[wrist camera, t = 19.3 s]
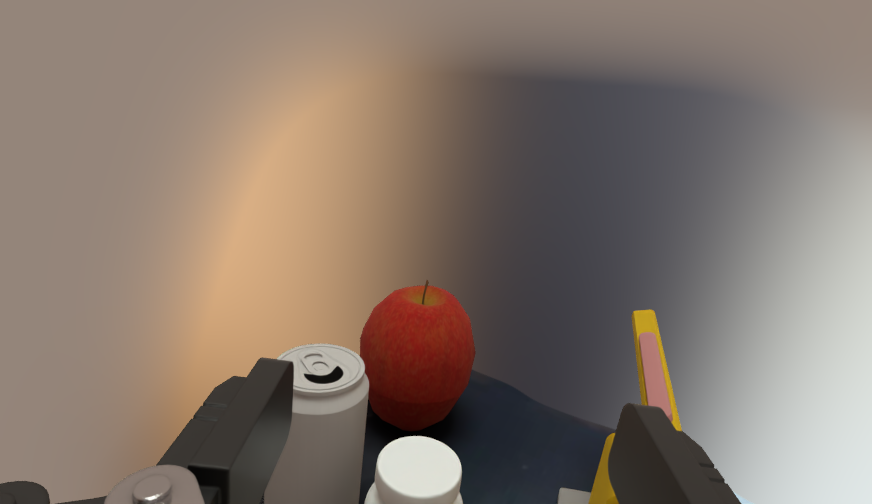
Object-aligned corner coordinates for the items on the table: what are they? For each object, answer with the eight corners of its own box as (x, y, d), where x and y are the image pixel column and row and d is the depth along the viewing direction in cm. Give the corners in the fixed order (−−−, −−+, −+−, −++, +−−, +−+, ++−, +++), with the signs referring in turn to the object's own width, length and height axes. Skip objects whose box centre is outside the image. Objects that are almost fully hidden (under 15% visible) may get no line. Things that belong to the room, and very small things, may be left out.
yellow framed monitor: (697, 788, 23) (821, 530, 18) (530, 712, 25) (600, 461, 20) (657, 488, 41) (714, 318, 36) (562, 458, 43) (603, 293, 38)
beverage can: (281, 570, 31) (286, 406, 27) (252, 497, 36) (253, 350, 32) (373, 529, 34) (389, 379, 31) (335, 468, 39) (345, 332, 35)
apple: (388, 374, 52) (402, 250, 48) (477, 407, 49) (501, 276, 45) (330, 429, 43) (340, 282, 39) (434, 474, 40) (458, 318, 35)
